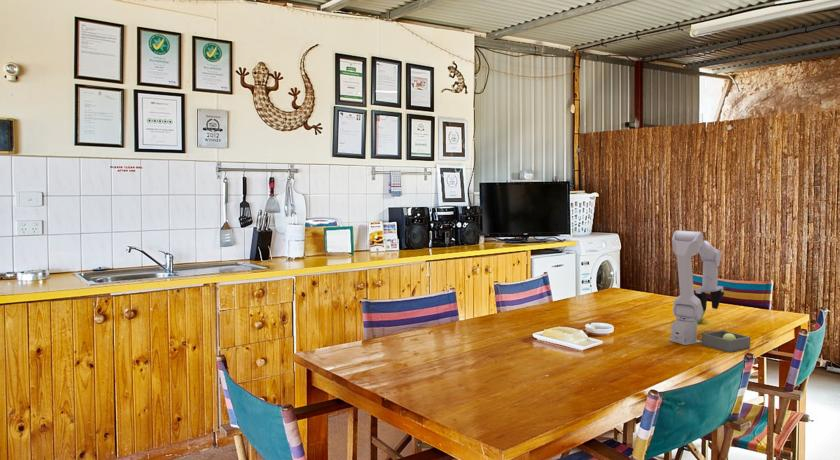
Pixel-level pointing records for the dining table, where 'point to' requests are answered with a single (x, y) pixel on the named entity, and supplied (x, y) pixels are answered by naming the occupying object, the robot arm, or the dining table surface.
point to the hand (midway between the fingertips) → (708, 309)
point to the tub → (725, 341)
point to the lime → (729, 336)
